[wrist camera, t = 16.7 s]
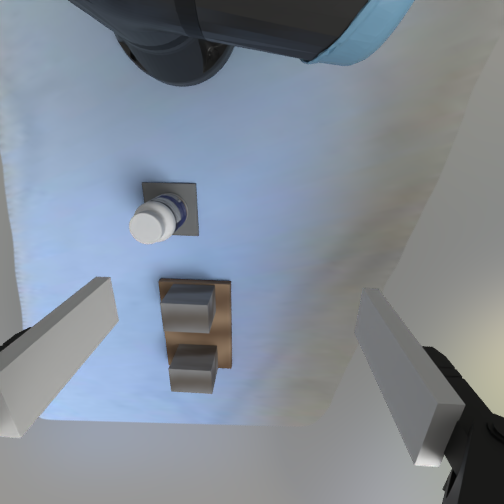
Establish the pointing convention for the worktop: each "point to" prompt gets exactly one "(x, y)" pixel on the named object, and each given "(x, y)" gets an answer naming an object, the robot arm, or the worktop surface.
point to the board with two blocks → (196, 331)
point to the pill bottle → (158, 218)
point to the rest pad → (186, 194)
